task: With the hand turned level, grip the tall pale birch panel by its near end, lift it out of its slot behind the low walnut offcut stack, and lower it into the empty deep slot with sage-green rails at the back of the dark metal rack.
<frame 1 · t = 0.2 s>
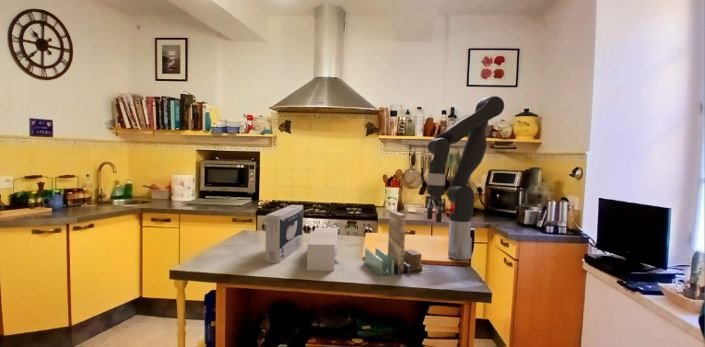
hand: (433, 220, 163), 18 cm above the counter, tool pointing down, fingers open, 8 cm apart
rack: (396, 270, 148), on the counter
packaging: (285, 253, 171), on the counter
birch panel: (395, 267, 148), point 1 cm above the counter, touching rack
offcut stack: (411, 266, 150), point 1 cm above the counter, touching rack
stack of papers: (323, 259, 163), on the counter
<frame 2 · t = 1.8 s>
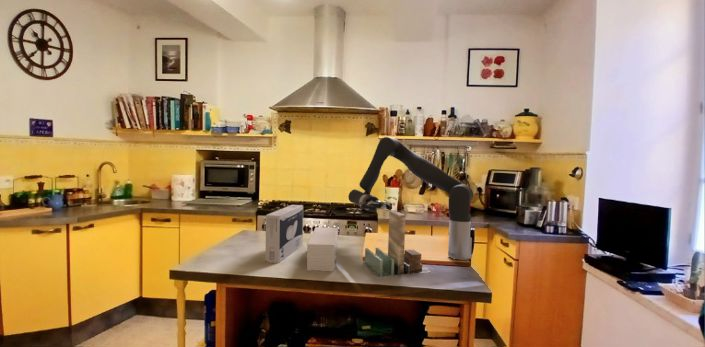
hand: (381, 208, 162), 23 cm above the counter, tool horizontal, fingers open, 8 cm apart
nothing on the counter moved.
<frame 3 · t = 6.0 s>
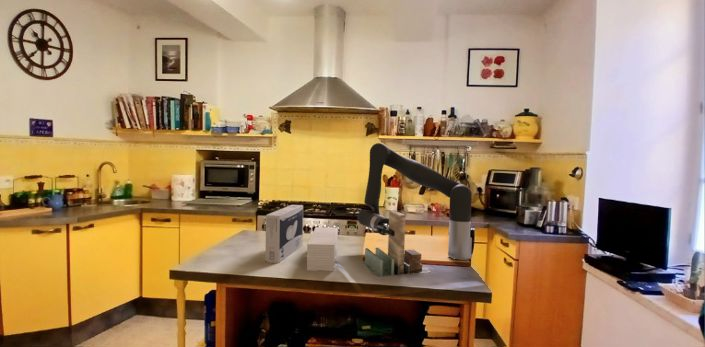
hand: (397, 233, 146), 15 cm above the counter, tool horizontal, fingers closed on birch panel, 2 cm apart
birch panel: (395, 267, 148), point 1 cm above the counter, touching gripper, rack
everything else where it was.
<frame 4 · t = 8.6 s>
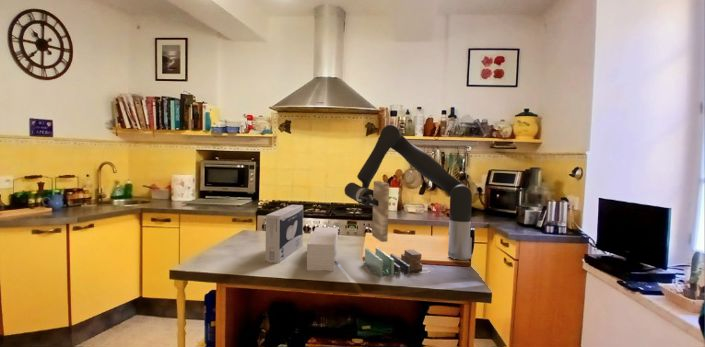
hand: (381, 203, 143), 28 cm above the counter, tool horizontal, fingers closed on birch panel, 2 cm apart
birch panel: (379, 238, 145), point 14 cm above the counter, touching gripper
everything else where it was.
when the fingers open (16 cm above the counter, at t = 11.7 s): birch panel stays where it is, resting on rack.
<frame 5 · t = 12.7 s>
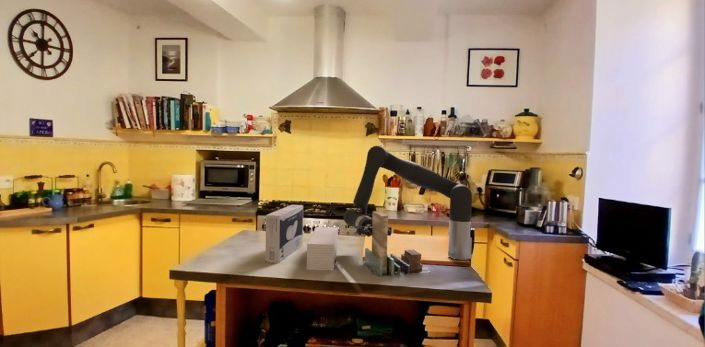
hand: (379, 233, 145), 16 cm above the counter, tool horizontal, fingers open, 8 cm apart
birch panel: (378, 268, 146), point 1 cm above the counter, touching rack
everything else where it was.
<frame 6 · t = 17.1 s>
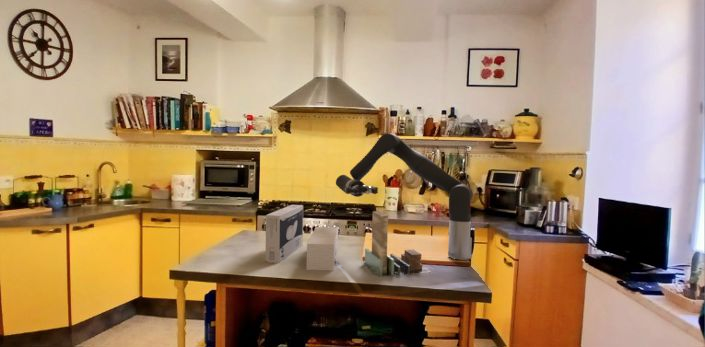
hand: (366, 191, 160), 30 cm above the counter, tool horizontal, fingers open, 8 cm apart
nothing on the counter moved.
at the end: birch panel inside the target area (0.3 cm from its centre), point 1.5 cm above the counter; birch panel tilted 0°; offcut stack moved 0.0 cm from its start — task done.
